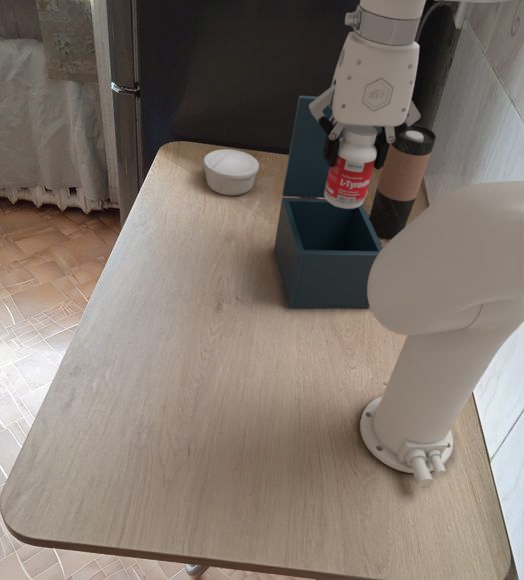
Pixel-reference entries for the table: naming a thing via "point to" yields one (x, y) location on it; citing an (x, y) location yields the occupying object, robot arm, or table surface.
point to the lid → (308, 154)
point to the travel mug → (401, 180)
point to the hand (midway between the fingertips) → (352, 162)
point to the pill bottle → (352, 167)
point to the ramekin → (230, 171)
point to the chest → (324, 254)
